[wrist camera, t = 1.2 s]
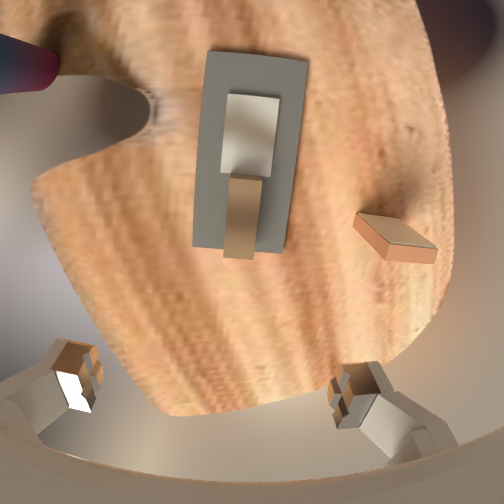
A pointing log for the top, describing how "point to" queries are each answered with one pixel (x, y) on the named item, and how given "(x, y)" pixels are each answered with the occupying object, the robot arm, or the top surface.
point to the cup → (25, 66)
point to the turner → (246, 167)
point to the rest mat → (211, 142)
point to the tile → (395, 239)
